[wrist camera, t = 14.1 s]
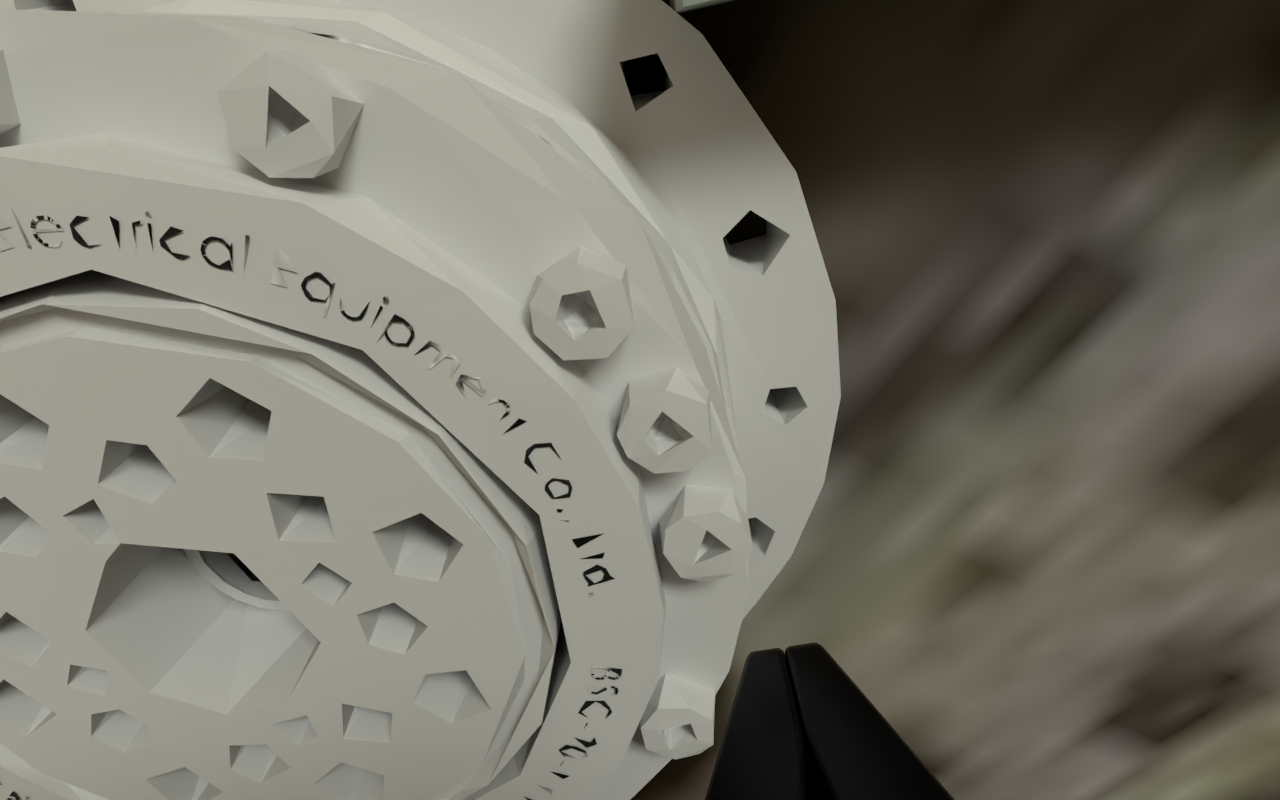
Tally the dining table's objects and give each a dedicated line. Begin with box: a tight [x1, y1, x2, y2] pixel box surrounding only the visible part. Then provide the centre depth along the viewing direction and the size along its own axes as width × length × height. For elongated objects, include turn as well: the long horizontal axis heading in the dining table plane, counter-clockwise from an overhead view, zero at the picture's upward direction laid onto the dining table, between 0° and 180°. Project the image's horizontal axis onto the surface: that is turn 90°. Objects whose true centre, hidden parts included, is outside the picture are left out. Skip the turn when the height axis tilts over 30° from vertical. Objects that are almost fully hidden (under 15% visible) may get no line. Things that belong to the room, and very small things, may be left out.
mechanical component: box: [0, 0, 841, 800], centre depth 7 cm, size 10×4×10 cm
